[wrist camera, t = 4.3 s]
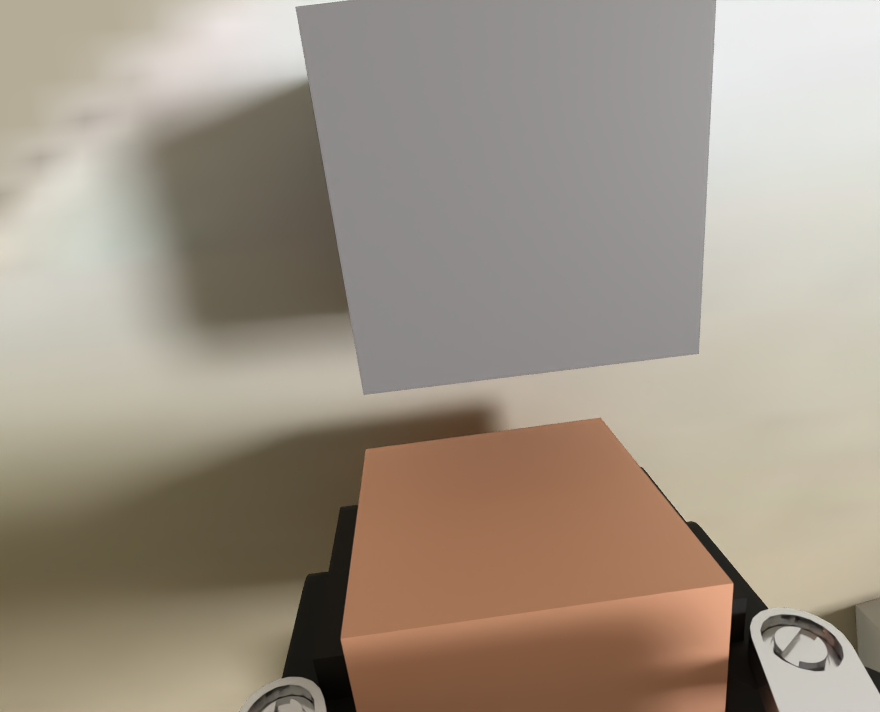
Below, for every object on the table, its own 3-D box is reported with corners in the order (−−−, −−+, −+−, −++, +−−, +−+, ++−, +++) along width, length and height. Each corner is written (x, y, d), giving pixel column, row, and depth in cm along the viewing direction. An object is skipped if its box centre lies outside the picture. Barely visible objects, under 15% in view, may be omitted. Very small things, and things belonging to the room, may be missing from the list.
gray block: (595, 282, 13) (699, 353, 8) (381, 307, 13) (363, 395, 8) (590, 39, 11) (718, -45, 7) (344, 69, 11) (295, 6, 7)
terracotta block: (605, 605, 13) (715, 843, 9) (398, 635, 13) (396, 892, 9) (600, 417, 12) (733, 583, 7) (366, 448, 12) (340, 638, 7)
